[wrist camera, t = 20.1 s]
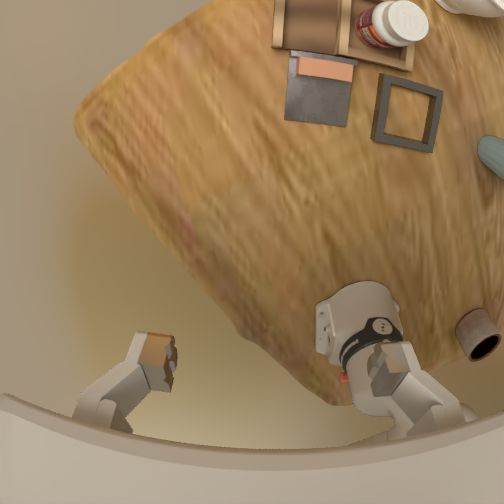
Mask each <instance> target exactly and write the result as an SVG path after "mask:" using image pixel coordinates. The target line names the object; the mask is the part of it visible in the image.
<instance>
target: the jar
mask: <svg viewBox="0 0 504 504" xmlns="http://www.w3.org/2000/svg"><path fill="white" fill-rule="evenodd" d="M435 1H436V2H437V3H438V4H439V5H440V6H441V7H442V8H444V9H445V10H447V11H449V12H451V13H454V14H461V13H465V14H469V15H476V16H481V17H502V16H504V0H435Z"/></svg>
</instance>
